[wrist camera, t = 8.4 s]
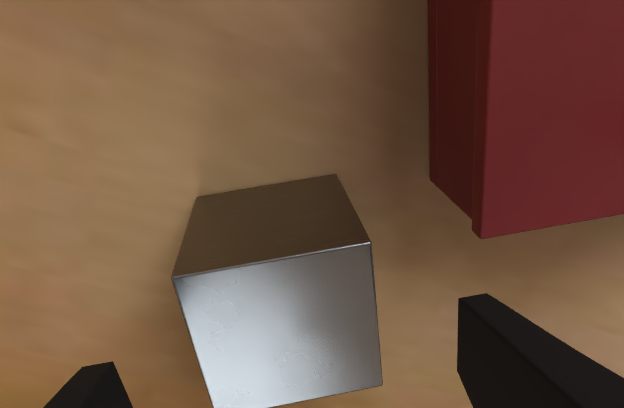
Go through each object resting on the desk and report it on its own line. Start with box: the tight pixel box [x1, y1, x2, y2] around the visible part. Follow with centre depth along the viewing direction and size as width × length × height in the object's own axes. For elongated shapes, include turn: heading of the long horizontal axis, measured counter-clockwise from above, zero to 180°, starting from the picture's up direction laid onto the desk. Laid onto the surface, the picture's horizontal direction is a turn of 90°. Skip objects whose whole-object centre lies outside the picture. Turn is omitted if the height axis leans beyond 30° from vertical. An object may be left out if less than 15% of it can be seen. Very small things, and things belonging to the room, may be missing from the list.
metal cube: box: [171, 174, 383, 408], centre depth 12 cm, size 4×4×4 cm
